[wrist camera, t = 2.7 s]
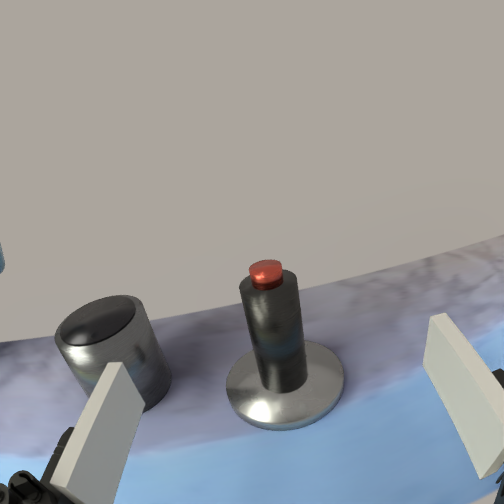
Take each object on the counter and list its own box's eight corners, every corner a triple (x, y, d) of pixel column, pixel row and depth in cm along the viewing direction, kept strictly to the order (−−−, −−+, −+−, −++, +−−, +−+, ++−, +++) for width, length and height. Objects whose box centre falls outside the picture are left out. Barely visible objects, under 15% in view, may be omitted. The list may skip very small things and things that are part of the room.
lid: (207, 408, 25) (162, 293, 21) (263, 341, 33) (242, 236, 28) (316, 445, 20) (305, 320, 15) (357, 358, 27) (356, 241, 23)
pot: (77, 394, 28) (40, 331, 24) (133, 348, 34) (106, 286, 31) (127, 432, 23) (81, 362, 20) (189, 372, 30) (162, 301, 27)
